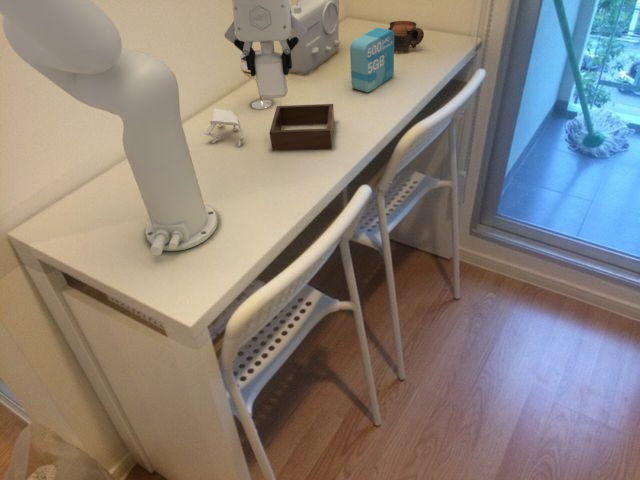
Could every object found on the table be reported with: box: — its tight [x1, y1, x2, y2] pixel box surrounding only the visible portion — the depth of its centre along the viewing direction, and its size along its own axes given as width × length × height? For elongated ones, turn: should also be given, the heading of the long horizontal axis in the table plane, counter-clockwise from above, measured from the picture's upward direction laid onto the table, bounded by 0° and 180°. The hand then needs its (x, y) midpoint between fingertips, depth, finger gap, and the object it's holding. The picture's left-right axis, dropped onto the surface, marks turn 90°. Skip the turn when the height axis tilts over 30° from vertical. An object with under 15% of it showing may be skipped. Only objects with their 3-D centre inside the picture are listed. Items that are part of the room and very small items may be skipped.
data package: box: [349, 27, 395, 93], centre depth 129 cm, size 12×4×12 cm, turn 140°
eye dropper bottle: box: [254, 41, 289, 99], centre depth 101 cm, size 4×6×12 cm
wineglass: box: [239, 49, 272, 110], centre depth 125 cm, size 7×7×12 cm
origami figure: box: [203, 108, 245, 147], centre depth 116 cm, size 12×8×5 cm
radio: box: [281, 0, 341, 75], centre depth 138 cm, size 22×8×25 cm, turn 150°
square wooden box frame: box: [269, 103, 335, 152], centre depth 114 cm, size 12×13×4 cm
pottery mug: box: [387, 20, 425, 53], centre depth 147 cm, size 12×10×8 cm
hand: (270, 71), depth 102 cm, fingers closed on eye dropper bottle, 5 cm apart
